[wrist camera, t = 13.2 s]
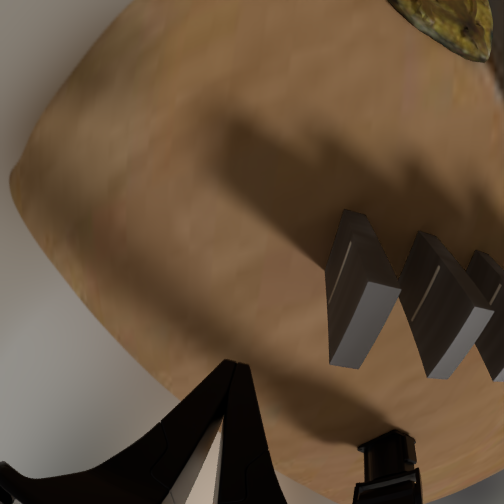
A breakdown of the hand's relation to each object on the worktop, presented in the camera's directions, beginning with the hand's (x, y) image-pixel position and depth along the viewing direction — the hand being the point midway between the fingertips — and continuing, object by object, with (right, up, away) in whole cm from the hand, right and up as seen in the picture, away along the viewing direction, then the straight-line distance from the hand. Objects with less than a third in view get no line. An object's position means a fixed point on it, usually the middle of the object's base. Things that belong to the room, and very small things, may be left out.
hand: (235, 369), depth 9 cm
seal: (+13, +24, +2) cm, 27 cm away
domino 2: (+13, +3, +11) cm, 17 cm away
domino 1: (+7, +4, +12) cm, 14 cm away
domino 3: (+19, +2, +11) cm, 22 cm away
